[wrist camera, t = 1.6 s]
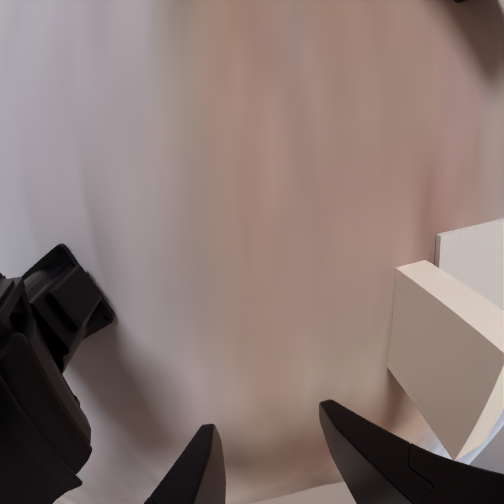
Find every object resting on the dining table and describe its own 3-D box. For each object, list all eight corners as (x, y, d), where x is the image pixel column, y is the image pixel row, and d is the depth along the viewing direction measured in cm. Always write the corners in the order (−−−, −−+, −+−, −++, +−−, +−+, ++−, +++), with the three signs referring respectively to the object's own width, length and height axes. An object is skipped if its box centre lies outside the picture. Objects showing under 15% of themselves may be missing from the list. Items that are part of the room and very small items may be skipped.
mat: (419, 368, 25) (421, 372, 25) (436, 233, 21) (440, 236, 20) (511, 321, 26) (514, 323, 26) (531, 211, 22) (535, 212, 21)
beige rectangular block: (387, 366, 25) (453, 461, 13) (395, 267, 21) (507, 355, 10) (413, 356, 25) (484, 441, 13) (425, 259, 21) (536, 334, 10)
